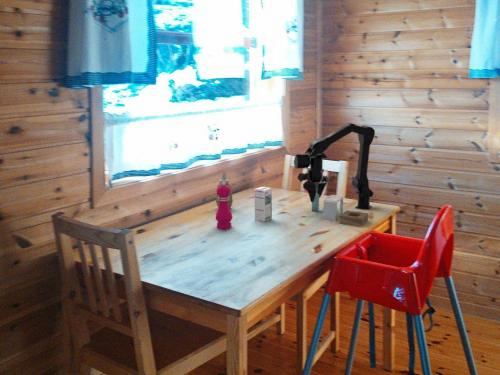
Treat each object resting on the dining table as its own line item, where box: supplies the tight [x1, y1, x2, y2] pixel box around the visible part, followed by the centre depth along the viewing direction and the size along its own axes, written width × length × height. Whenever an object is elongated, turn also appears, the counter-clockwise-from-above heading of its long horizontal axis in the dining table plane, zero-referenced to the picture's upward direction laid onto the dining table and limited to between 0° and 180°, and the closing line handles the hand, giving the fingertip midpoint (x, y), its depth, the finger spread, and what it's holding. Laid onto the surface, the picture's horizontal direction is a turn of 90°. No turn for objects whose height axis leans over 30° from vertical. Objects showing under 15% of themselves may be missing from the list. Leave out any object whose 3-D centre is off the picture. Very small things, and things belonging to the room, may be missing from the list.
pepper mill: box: [215, 182, 233, 230], centre depth 238 cm, size 7×7×20 cm
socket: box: [339, 210, 369, 227], centre depth 247 cm, size 10×10×4 cm
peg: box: [311, 193, 320, 213], centre depth 265 cm, size 3×3×8 cm
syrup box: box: [253, 186, 273, 222], centre depth 250 cm, size 6×6×14 cm
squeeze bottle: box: [215, 171, 234, 210], centre depth 267 cm, size 8×8×18 cm
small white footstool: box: [322, 194, 344, 221], centre depth 255 cm, size 10×6×9 cm, turn 153°
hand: (315, 199), depth 264 cm, fingers open, 9 cm apart
